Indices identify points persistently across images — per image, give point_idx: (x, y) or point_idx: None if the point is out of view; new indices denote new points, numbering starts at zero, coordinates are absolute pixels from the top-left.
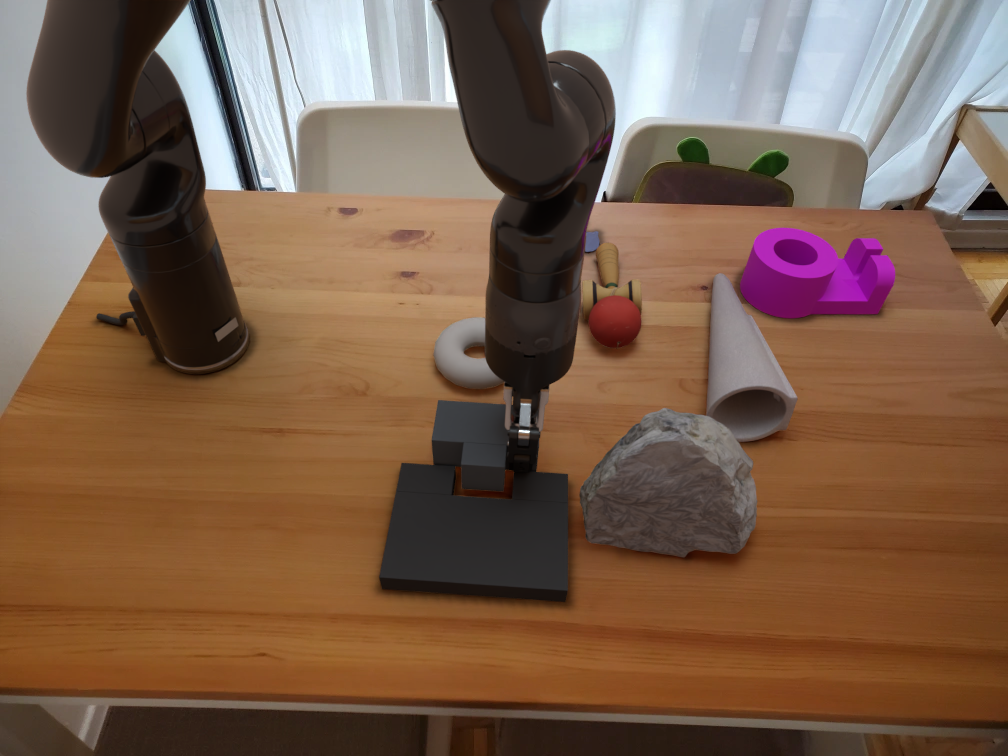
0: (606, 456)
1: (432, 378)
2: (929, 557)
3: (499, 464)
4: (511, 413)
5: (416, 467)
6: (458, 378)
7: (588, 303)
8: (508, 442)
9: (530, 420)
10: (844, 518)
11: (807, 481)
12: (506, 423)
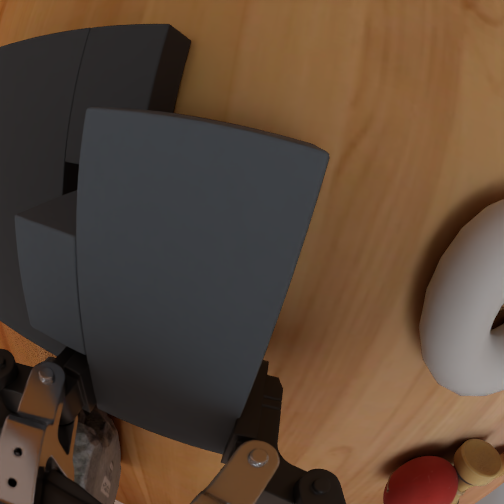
0: (75, 472)
1: (496, 172)
2: (121, 494)
3: (33, 317)
4: (44, 461)
5: (144, 64)
6: (469, 245)
7: (467, 475)
8: (40, 378)
9: (48, 470)
10: (141, 492)
11: (173, 498)
12: (5, 430)
